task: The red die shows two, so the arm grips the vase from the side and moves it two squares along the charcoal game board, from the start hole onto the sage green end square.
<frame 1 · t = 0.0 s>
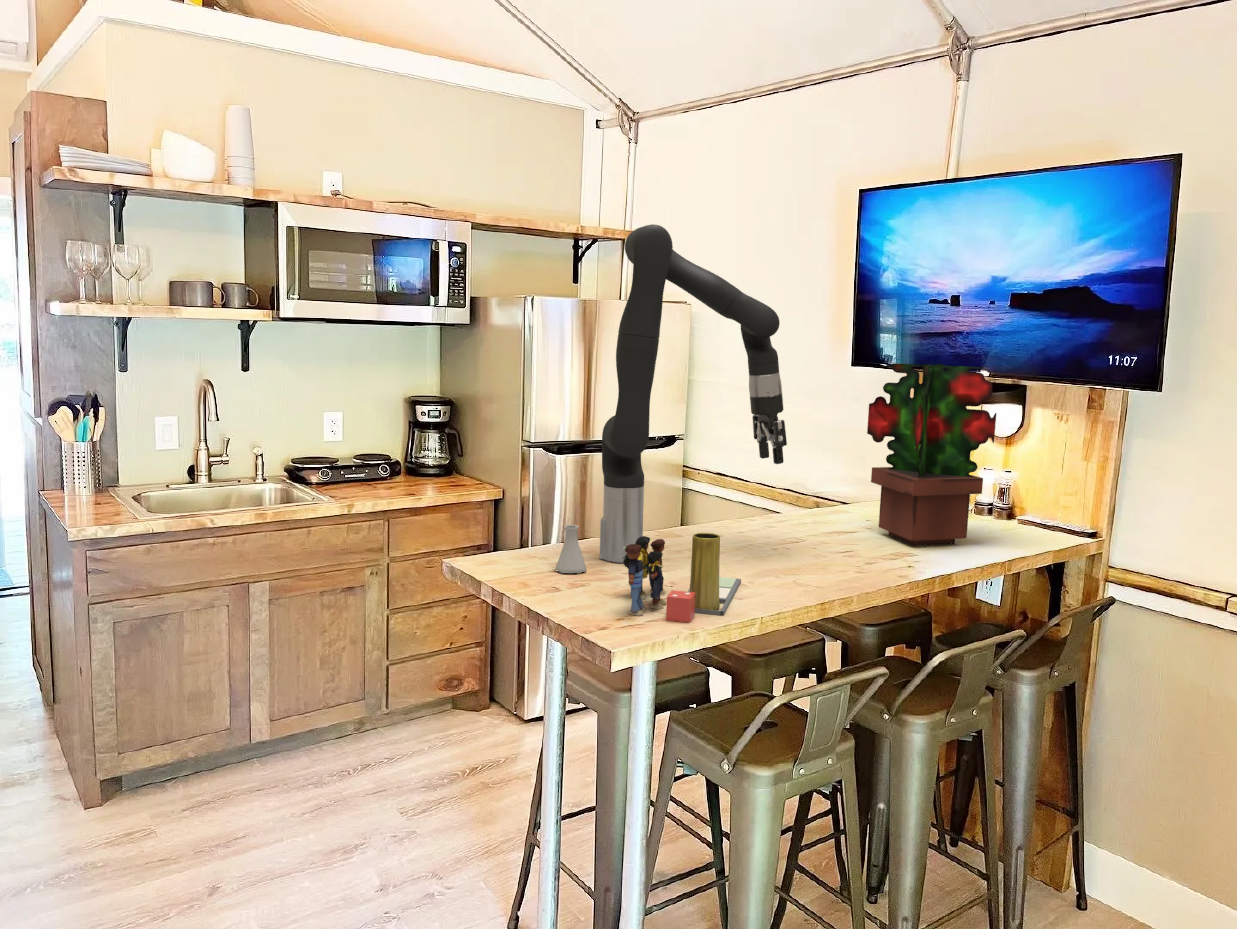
hand: (771, 460, 228), 22 cm above the table, tool pointing down, fingers open, 8 cm apart
red die: (680, 617, 180), on the table
game board: (710, 596, 194), on the table
vase: (703, 608, 187), resting in game board
doll family: (644, 603, 189), on the table
flask: (570, 571, 211), on the table
potted plant: (921, 540, 248), on the table
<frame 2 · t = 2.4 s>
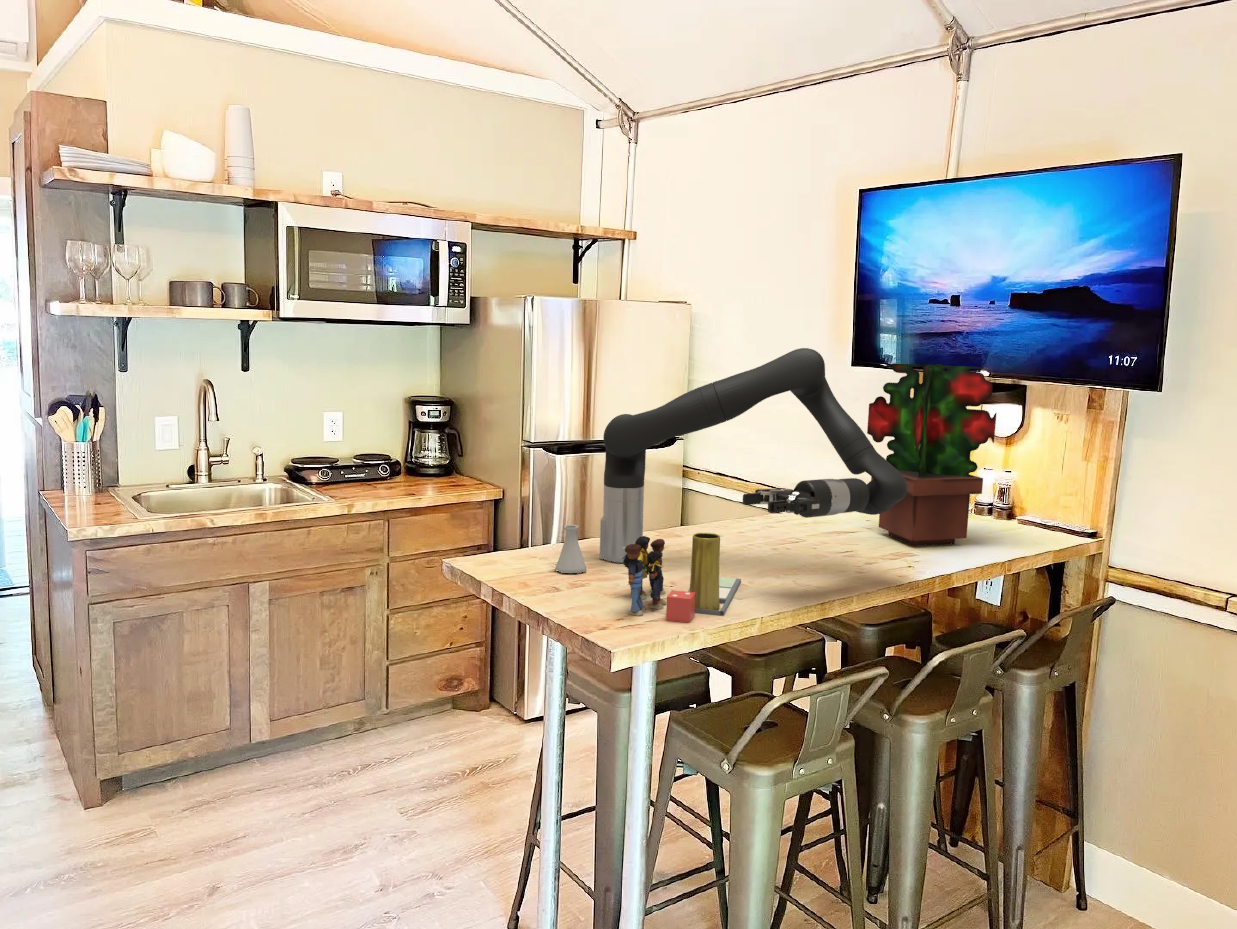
hand: (756, 503, 189), 20 cm above the table, tool horizontal, fingers open, 8 cm apart
nothing on the table moved.
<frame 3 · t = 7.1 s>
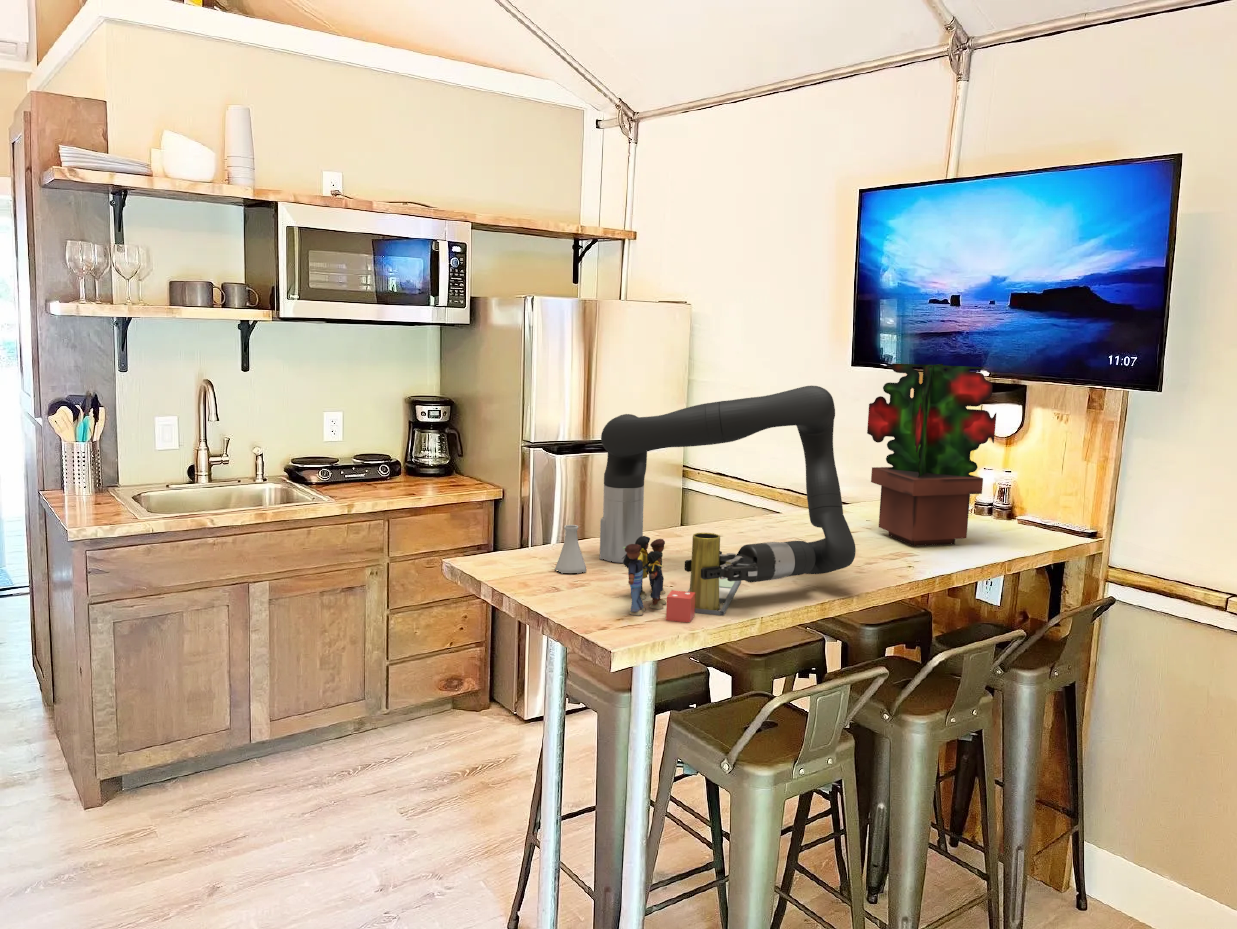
hand: (693, 569, 184), 8 cm above the table, tool horizontal, fingers closed on vase, 5 cm apart
vase: (703, 608, 187), resting in game board, touching gripper
everything else where it was.
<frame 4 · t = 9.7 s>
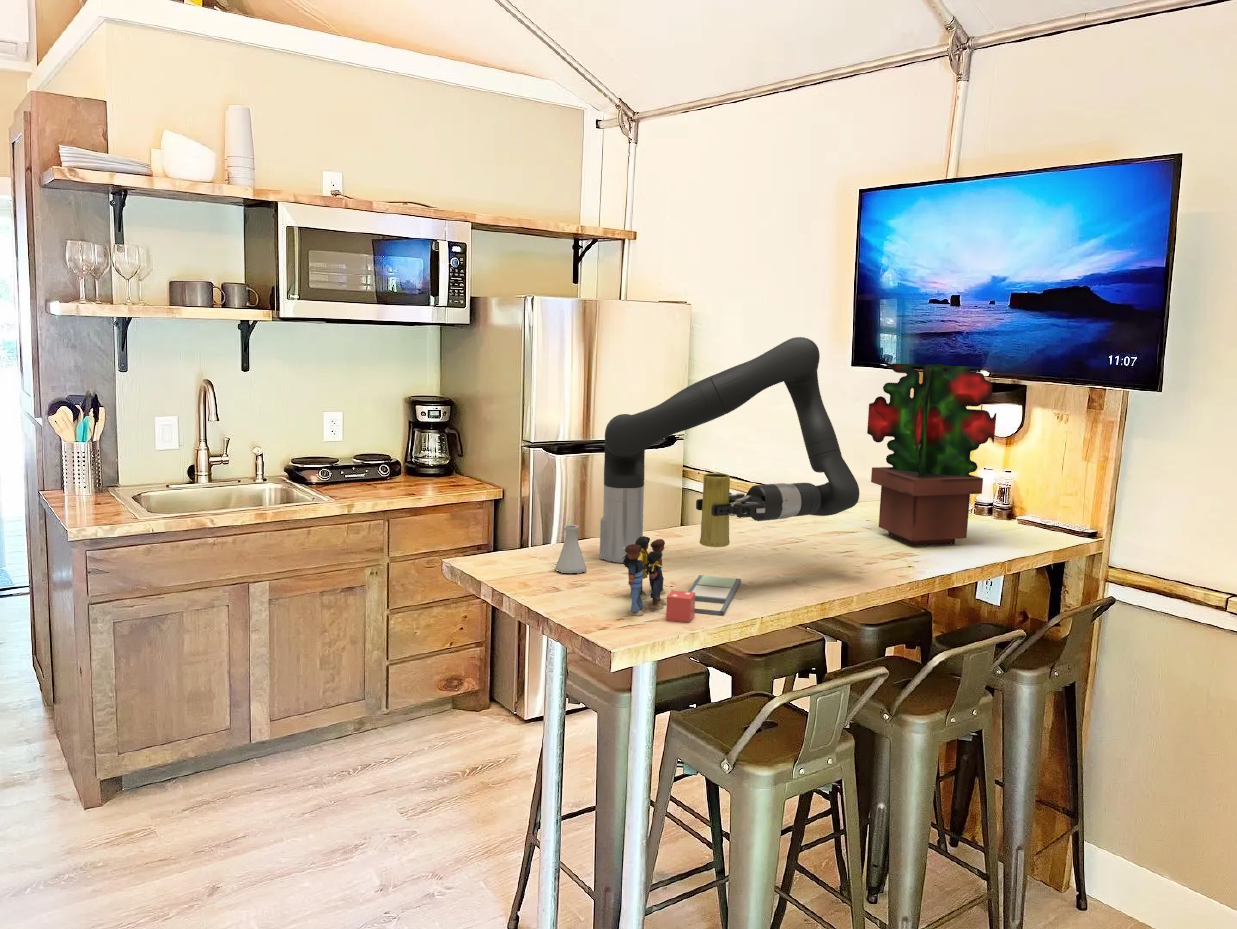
hand: (704, 507, 194), 18 cm above the table, tool horizontal, fingers closed on vase, 5 cm apart
vase: (714, 544, 196), point 10 cm above the table, touching gripper
everything else where it was.
when the fingers open (10 cm above the table, at t = 12.5 s): vase drops 1 cm, resting on game board.
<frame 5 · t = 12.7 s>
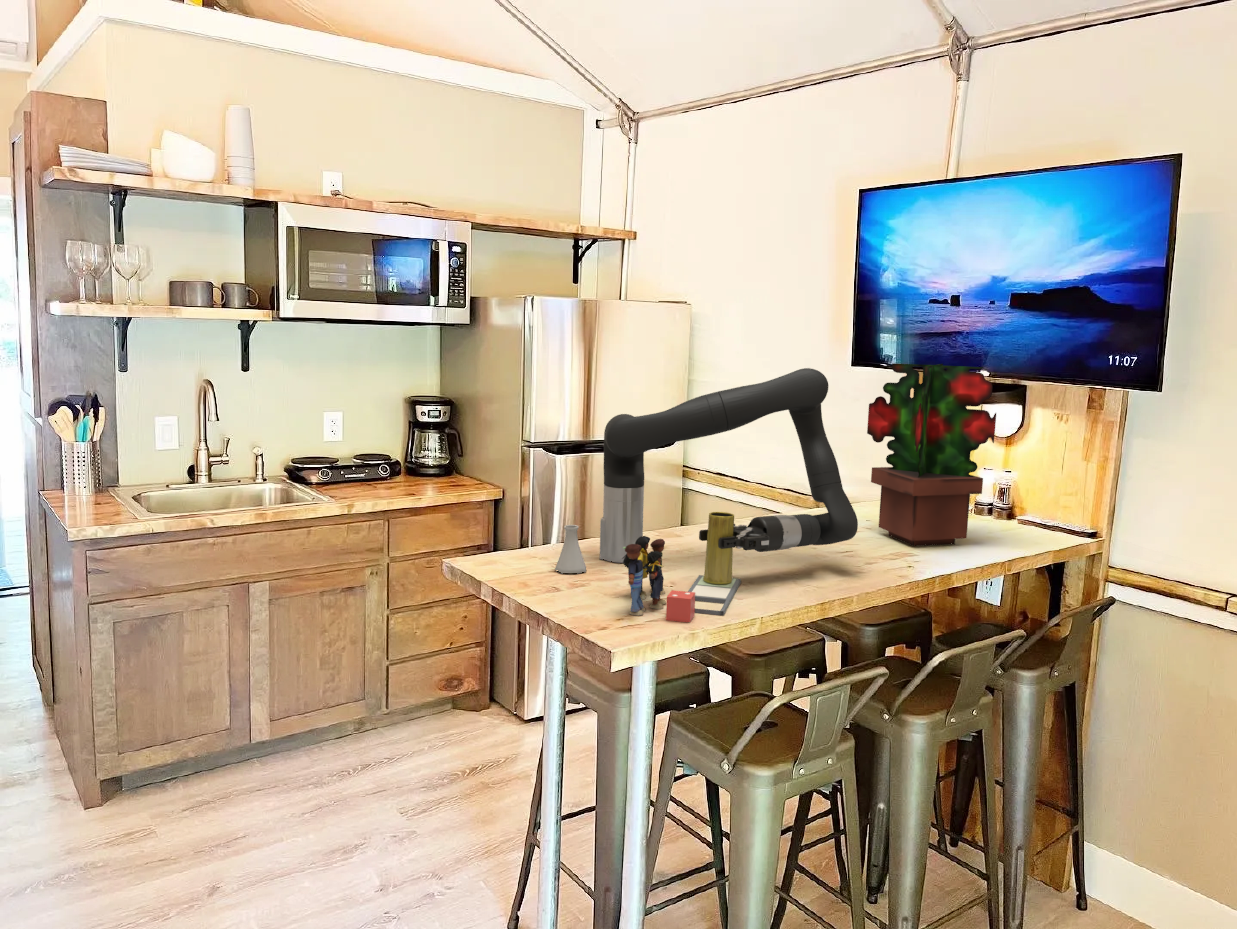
hand: (709, 539, 199), 10 cm above the table, tool horizontal, fingers open, 7 cm apart
vase: (717, 581, 202), point 1 cm above the table, touching game board
everything else where it was.
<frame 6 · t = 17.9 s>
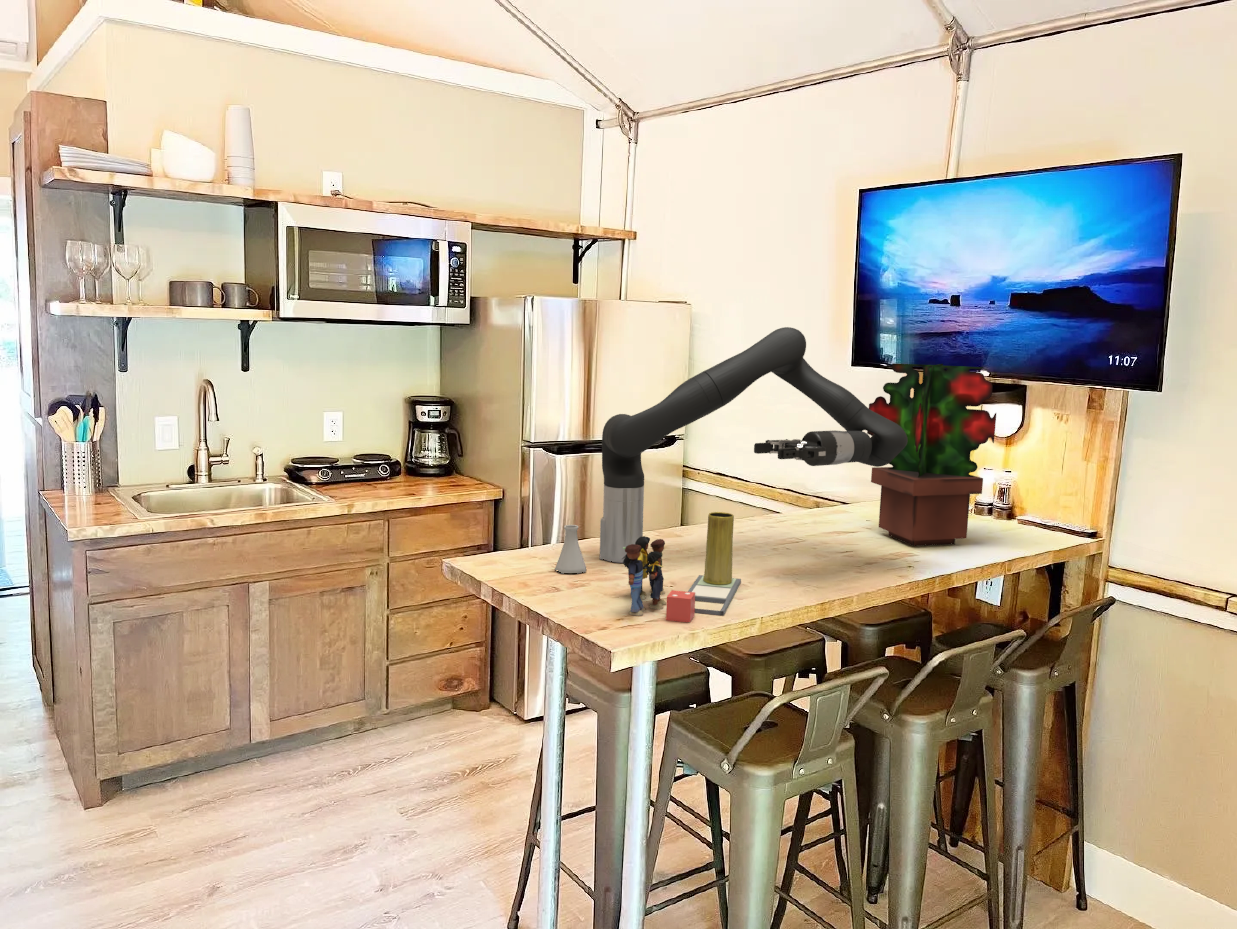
hand: (766, 451, 203), 28 cm above the table, tool horizontal, fingers open, 8 cm apart
nothing on the table moved.
at the end: vase 0.1 cm from the target spot on the game board, point 0.7 cm above the game board's base; vase tilted 1°; the gripper is holding nothing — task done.
